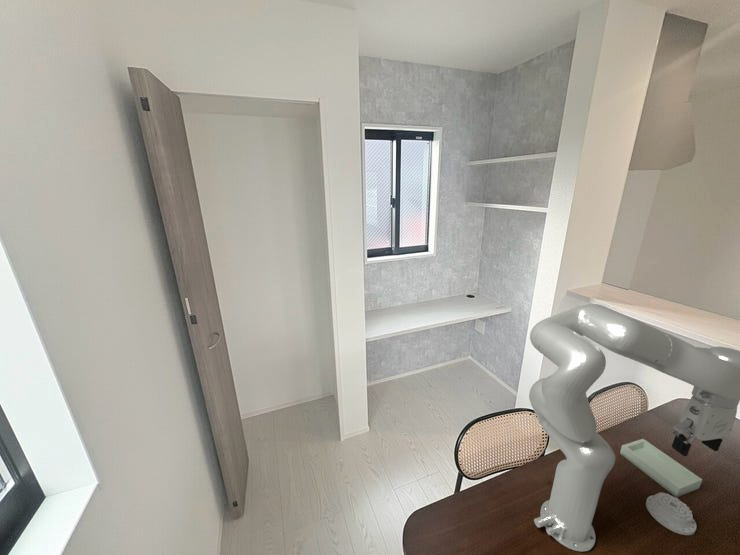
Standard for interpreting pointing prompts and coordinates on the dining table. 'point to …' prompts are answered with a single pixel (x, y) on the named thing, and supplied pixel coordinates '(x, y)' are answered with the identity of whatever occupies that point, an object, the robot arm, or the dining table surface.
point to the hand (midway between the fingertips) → (694, 449)
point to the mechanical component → (671, 513)
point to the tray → (661, 467)
